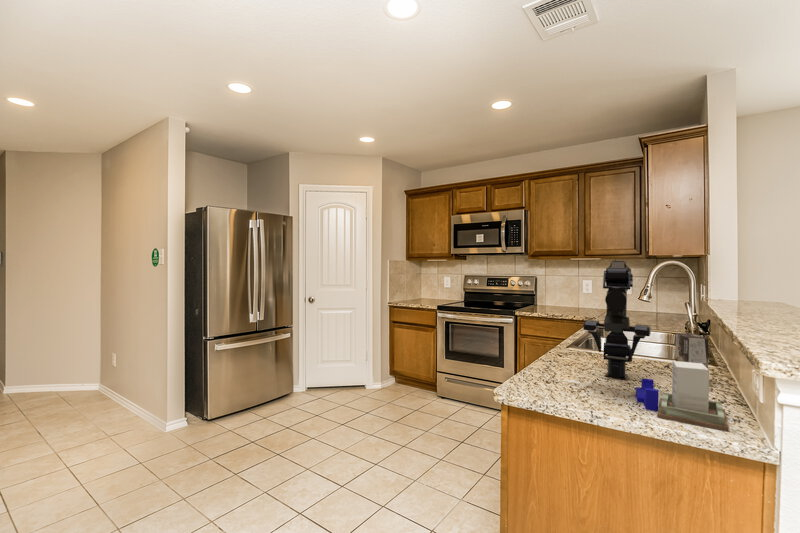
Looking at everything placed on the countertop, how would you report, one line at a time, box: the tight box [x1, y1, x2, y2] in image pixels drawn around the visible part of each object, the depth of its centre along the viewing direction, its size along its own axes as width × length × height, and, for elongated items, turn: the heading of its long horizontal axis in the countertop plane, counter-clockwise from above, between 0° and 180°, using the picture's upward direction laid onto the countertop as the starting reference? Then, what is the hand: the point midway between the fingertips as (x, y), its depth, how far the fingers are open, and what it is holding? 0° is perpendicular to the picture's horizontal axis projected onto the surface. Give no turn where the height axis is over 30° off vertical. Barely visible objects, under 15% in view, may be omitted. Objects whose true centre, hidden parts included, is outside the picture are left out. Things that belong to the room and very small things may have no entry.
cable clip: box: [635, 377, 660, 412], centre depth 119 cm, size 12×4×6 cm, turn 154°
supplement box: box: [671, 360, 710, 413], centre depth 111 cm, size 7×7×13 cm
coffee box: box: [675, 333, 710, 369], centre depth 141 cm, size 9×6×16 cm
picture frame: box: [656, 392, 730, 432], centre depth 110 cm, size 15×15×3 cm
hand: (615, 354), depth 130 cm, fingers open, 9 cm apart
